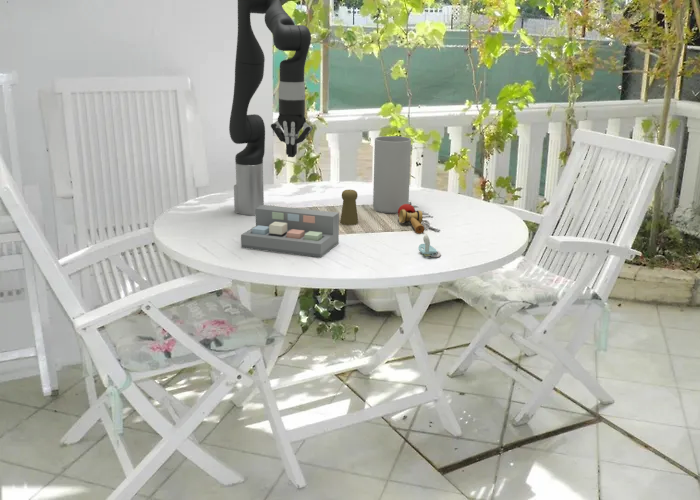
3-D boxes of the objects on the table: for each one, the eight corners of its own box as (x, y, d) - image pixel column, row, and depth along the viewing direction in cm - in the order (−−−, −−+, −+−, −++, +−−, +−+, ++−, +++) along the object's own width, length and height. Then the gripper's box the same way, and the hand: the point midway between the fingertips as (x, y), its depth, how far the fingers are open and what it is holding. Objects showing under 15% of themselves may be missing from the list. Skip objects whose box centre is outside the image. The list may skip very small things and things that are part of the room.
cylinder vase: (367, 206, 270) (368, 137, 263) (398, 203, 275) (400, 135, 268) (382, 215, 259) (384, 142, 252) (414, 212, 264) (417, 140, 257)
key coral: (286, 245, 220) (286, 232, 219) (292, 241, 224) (292, 229, 222) (299, 246, 219) (299, 234, 218) (304, 242, 222) (304, 230, 221)
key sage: (304, 247, 218) (304, 234, 217) (309, 243, 222) (309, 231, 221) (317, 248, 217) (317, 236, 216) (322, 244, 221) (322, 232, 219)
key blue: (252, 241, 223) (252, 228, 222) (258, 237, 227) (258, 225, 226) (264, 242, 222) (264, 230, 221) (270, 238, 226) (270, 226, 224)
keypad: (241, 247, 222) (240, 216, 219) (263, 234, 235) (262, 204, 232) (320, 257, 214) (320, 225, 211) (338, 243, 228) (338, 212, 225)
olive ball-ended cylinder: (356, 225, 246) (356, 192, 243) (338, 224, 248) (338, 191, 244) (359, 220, 252) (360, 188, 249) (342, 219, 253) (342, 187, 250)
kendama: (433, 236, 241) (416, 214, 257) (431, 219, 238) (414, 198, 254) (410, 242, 240) (394, 219, 255) (408, 224, 237) (392, 202, 253)
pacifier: (436, 251, 222) (416, 251, 221) (437, 230, 221) (418, 231, 219) (443, 258, 216) (423, 259, 214) (445, 237, 214) (425, 238, 213)
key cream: (269, 237, 221) (269, 225, 220) (275, 233, 225) (274, 221, 224) (282, 238, 220) (281, 226, 219) (287, 235, 223) (287, 222, 222)
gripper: (265, 97, 216) (265, 156, 222) (308, 100, 212) (307, 161, 217) (276, 94, 223) (276, 152, 228) (317, 97, 219) (317, 156, 224)
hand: (291, 156), depth 223 cm, fingers closed
